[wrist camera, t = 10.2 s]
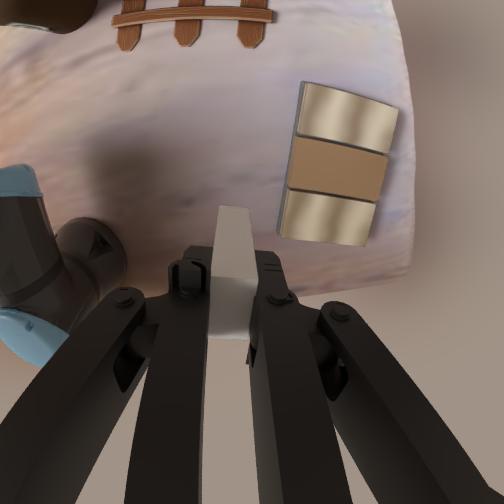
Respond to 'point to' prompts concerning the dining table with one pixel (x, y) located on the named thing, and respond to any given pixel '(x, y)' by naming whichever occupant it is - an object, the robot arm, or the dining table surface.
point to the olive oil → (46, 14)
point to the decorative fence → (191, 20)
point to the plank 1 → (346, 118)
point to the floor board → (332, 165)
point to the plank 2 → (326, 218)
